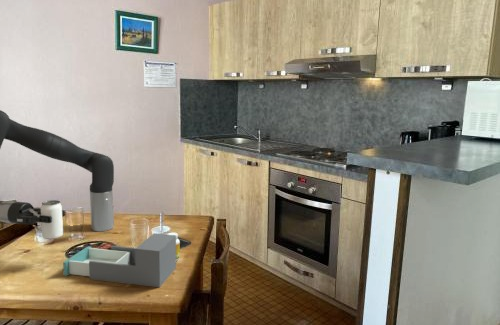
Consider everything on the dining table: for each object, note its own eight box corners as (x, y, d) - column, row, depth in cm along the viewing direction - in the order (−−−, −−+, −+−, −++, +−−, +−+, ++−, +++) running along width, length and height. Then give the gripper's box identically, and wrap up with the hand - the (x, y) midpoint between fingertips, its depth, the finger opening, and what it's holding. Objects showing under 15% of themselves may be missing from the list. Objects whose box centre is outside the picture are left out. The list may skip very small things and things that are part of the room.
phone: (167, 233, 168) (192, 242, 159) (167, 236, 168) (192, 244, 159) (153, 238, 161) (177, 247, 152) (153, 241, 161) (177, 250, 153)
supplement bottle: (161, 259, 143) (161, 234, 142) (174, 255, 147) (173, 230, 146) (170, 263, 140) (170, 238, 138) (182, 259, 144) (182, 234, 142)
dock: (112, 261, 140) (111, 229, 138) (175, 268, 136) (175, 235, 134) (89, 279, 126) (88, 243, 124) (159, 287, 122) (159, 251, 120)
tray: (88, 257, 142) (88, 246, 141) (132, 262, 139) (131, 250, 138) (63, 275, 128) (63, 262, 127) (111, 280, 125) (110, 267, 124)
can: (39, 235, 134) (37, 202, 132) (58, 231, 139) (57, 198, 137) (46, 241, 130) (44, 206, 128) (66, 236, 135) (64, 202, 133)
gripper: (-3, 207, 128) (42, 212, 125) (29, 196, 142) (70, 200, 139) (-1, 229, 129) (44, 234, 127) (30, 216, 143) (71, 220, 141)
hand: (57, 216), depth 133 cm, fingers closed on can, 6 cm apart
